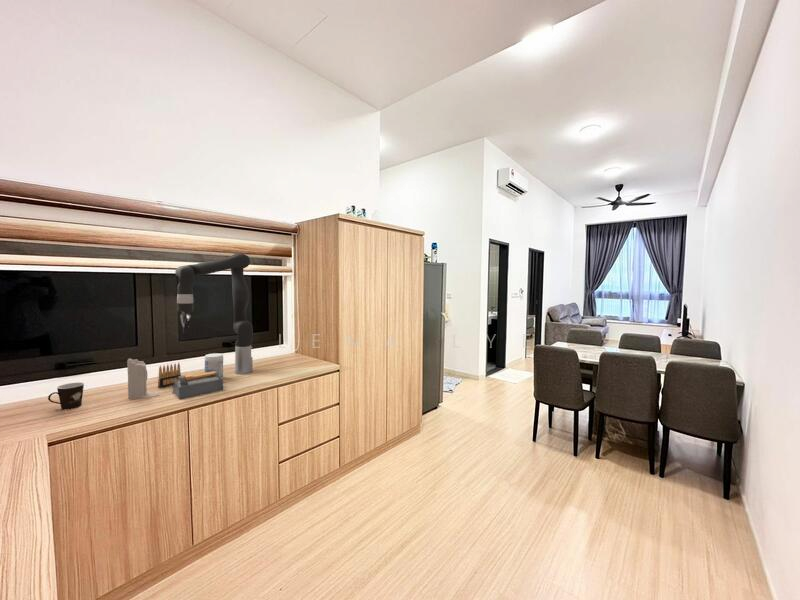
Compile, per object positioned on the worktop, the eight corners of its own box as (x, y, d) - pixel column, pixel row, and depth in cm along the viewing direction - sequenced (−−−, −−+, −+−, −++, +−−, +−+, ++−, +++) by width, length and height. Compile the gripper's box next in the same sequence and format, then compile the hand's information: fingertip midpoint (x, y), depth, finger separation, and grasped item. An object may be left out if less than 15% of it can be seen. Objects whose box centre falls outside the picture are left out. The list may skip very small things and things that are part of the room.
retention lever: (214, 372, 180) (214, 369, 180) (217, 374, 177) (217, 371, 177) (183, 377, 170) (183, 375, 170) (186, 379, 167) (185, 377, 167)
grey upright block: (161, 396, 165) (161, 357, 163) (126, 400, 158) (125, 359, 157) (163, 391, 171) (163, 354, 170) (130, 395, 164) (129, 356, 163)
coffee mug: (83, 401, 155) (82, 381, 154) (86, 406, 149) (85, 385, 148) (47, 409, 146) (46, 387, 145) (48, 414, 140) (47, 391, 139)
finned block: (215, 383, 185) (215, 367, 184) (223, 390, 175) (223, 373, 175) (172, 391, 171) (172, 374, 170) (179, 399, 161) (178, 381, 160)
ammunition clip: (159, 388, 176) (158, 366, 175) (157, 387, 177) (157, 365, 176) (181, 383, 185) (181, 362, 184) (180, 382, 186) (179, 361, 185)
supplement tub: (201, 381, 188) (200, 356, 187) (210, 376, 197) (210, 352, 196) (217, 382, 188) (217, 357, 187) (226, 377, 198) (226, 353, 197)
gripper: (196, 303, 178) (196, 334, 179) (190, 301, 187) (190, 331, 188) (180, 303, 172) (180, 335, 173) (174, 301, 182) (175, 332, 183)
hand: (185, 333), depth 181 cm, fingers closed
